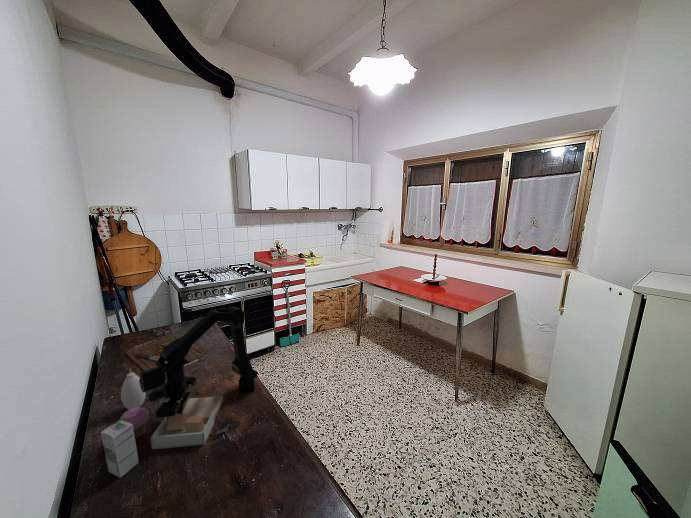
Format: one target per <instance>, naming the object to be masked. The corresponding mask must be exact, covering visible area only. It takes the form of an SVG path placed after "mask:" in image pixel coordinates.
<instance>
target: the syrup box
mask: <svg viewBox="0 0 691 518" xmlns="http://www.w3.org/2000/svg"><path fill="white" fill-rule="evenodd" d="M100 434H101V435H100V436H101V439H102V445H103V451H104V456H105V462H106V466H107V467H106V468H107V471H108V473H110V474H112V475H113V476H116V477H117V478H122V477H123V476H125V474H127V473H128V472H130V470H133V468H134V467H136V466H137V465H138V464H139V456H138V450H137V449H138V448H137V444H136V439H135V437H134V431H133V425H132V424H131V423H128V422H125V421H123V420H117V421H116V422H114V423H112V424H111V425H110V426H108V427H106V428H105V429H104V430H103V431H101V432H100Z"/></svg>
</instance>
